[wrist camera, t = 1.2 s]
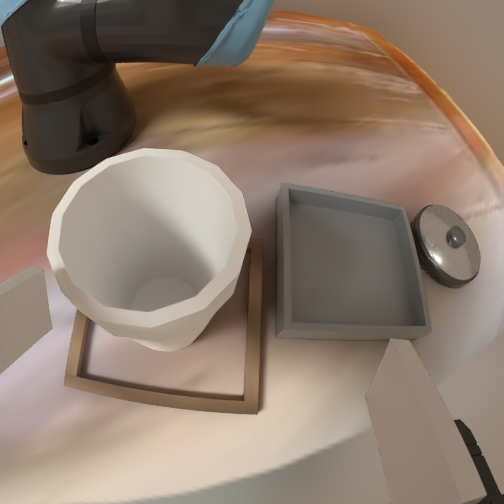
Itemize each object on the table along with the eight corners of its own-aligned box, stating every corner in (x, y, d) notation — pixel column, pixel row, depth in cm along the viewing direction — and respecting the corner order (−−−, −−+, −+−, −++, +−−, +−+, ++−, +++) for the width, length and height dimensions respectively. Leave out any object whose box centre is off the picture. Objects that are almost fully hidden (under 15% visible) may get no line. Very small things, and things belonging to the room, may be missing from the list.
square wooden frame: (104, 226, 27) (102, 221, 26) (261, 244, 29) (263, 239, 28) (67, 386, 19) (63, 385, 19) (255, 414, 21) (257, 414, 21)
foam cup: (227, 267, 27) (252, 157, 16) (223, 374, 22) (250, 335, 11) (121, 257, 26) (82, 147, 15) (104, 361, 21) (23, 307, 10)
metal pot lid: (400, 207, 35) (415, 189, 32) (457, 221, 36) (472, 206, 33) (418, 286, 29) (438, 272, 26) (477, 291, 31) (496, 279, 28)
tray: (276, 199, 32) (282, 182, 29) (393, 219, 33) (404, 206, 31) (275, 337, 25) (283, 329, 22) (415, 339, 26) (431, 332, 24)
